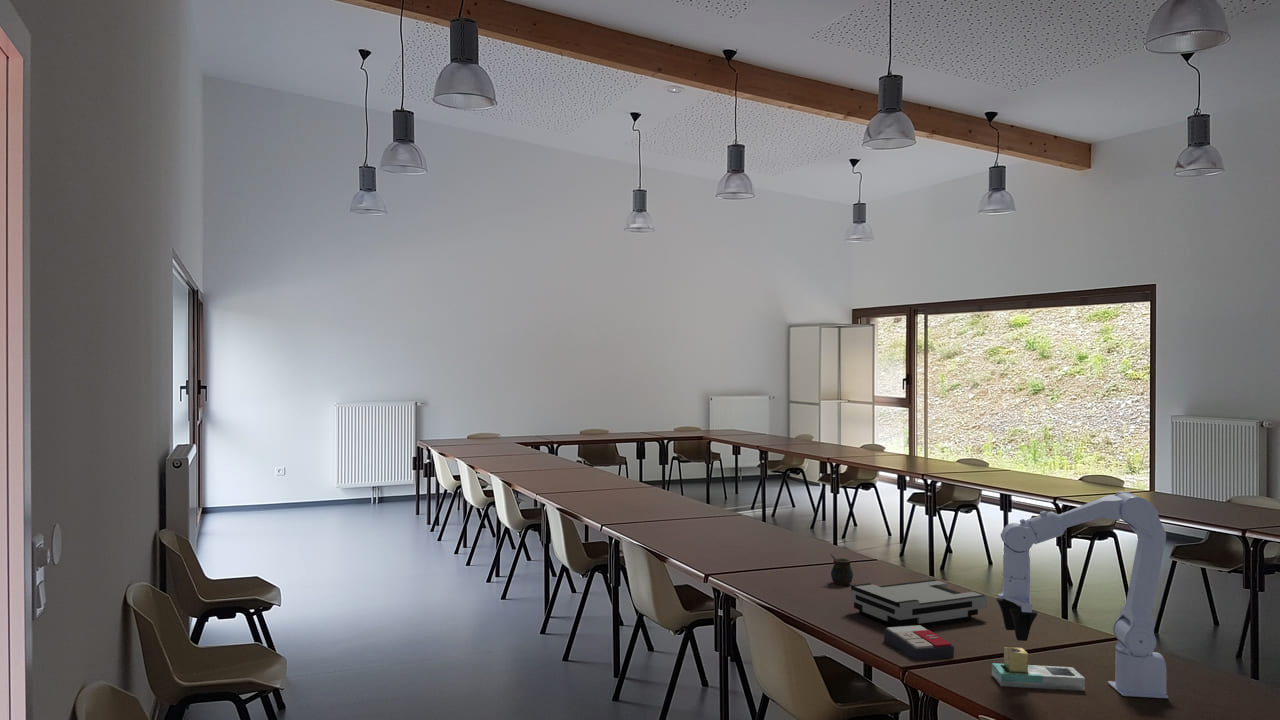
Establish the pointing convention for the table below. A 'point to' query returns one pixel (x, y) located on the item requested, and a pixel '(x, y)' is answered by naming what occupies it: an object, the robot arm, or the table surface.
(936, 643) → the calculator
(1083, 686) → the white teal tray block
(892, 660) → the table surface
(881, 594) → the game console
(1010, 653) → the nut
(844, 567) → the mate gourd
